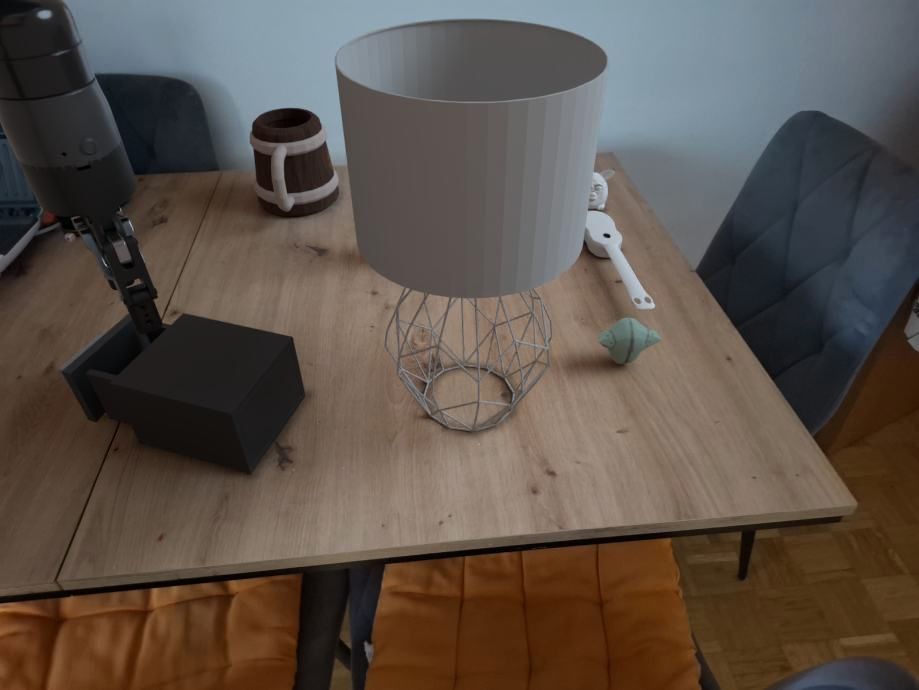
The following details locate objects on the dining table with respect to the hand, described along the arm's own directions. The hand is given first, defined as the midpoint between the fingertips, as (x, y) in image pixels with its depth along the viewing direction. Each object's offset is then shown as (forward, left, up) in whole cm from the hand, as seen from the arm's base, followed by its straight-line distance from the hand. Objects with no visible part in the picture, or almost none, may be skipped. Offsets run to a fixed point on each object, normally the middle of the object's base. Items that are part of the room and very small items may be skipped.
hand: (136, 307), depth 61 cm
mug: (+10, +55, -19) cm, 59 cm away
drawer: (-5, +7, -18) cm, 20 cm away
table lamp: (+32, +2, -19) cm, 38 cm away
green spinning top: (+53, +5, -19) cm, 57 cm away
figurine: (+62, +47, -19) cm, 80 cm away
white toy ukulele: (+60, +26, -19) cm, 68 cm away
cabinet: (+3, +3, -19) cm, 20 cm away
